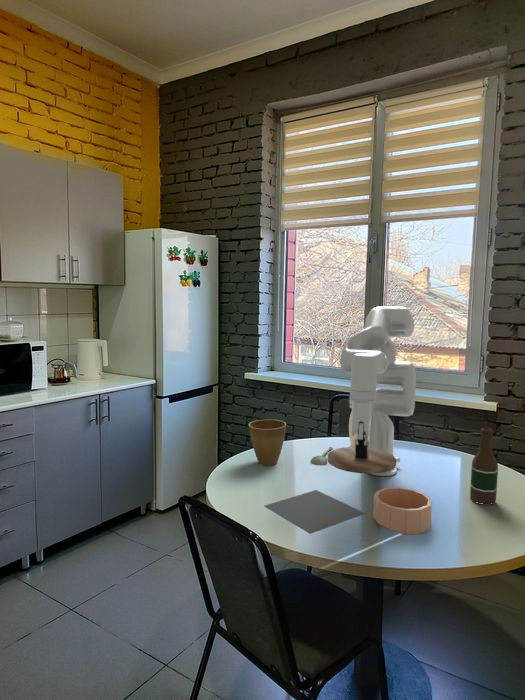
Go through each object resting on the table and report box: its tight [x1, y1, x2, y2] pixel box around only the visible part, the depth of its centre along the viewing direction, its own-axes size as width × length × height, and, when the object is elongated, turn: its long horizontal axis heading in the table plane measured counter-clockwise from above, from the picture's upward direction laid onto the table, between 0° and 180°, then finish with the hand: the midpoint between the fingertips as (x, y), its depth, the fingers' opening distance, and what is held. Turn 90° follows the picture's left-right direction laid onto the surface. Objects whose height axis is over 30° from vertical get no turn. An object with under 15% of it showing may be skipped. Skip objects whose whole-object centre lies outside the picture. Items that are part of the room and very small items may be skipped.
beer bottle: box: [469, 427, 499, 504], centre depth 156 cm, size 8×8×24 cm
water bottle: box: [348, 395, 357, 447], centre depth 211 cm, size 10×9×28 cm
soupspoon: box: [310, 446, 334, 466], centre depth 200 cm, size 22×3×7 cm
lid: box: [327, 440, 397, 475], centre depth 143 cm, size 20×20×6 cm
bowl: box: [372, 487, 433, 535], centre depth 142 cm, size 16×16×7 cm
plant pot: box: [248, 419, 287, 467], centre depth 192 cm, size 15×15×16 cm
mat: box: [264, 489, 366, 535], centre depth 148 cm, size 22×22×1 cm
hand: (361, 455), depth 143 cm, fingers closed on lid, 4 cm apart
